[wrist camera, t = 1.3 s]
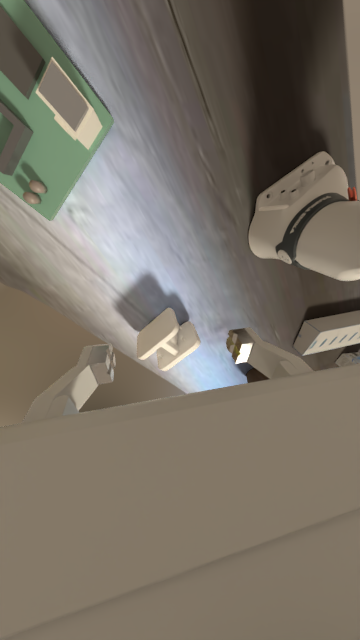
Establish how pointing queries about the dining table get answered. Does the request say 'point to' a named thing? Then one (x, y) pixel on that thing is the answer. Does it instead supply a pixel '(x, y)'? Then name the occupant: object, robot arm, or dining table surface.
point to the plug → (68, 105)
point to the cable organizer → (167, 340)
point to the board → (37, 115)
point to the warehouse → (328, 333)
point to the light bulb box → (348, 359)
